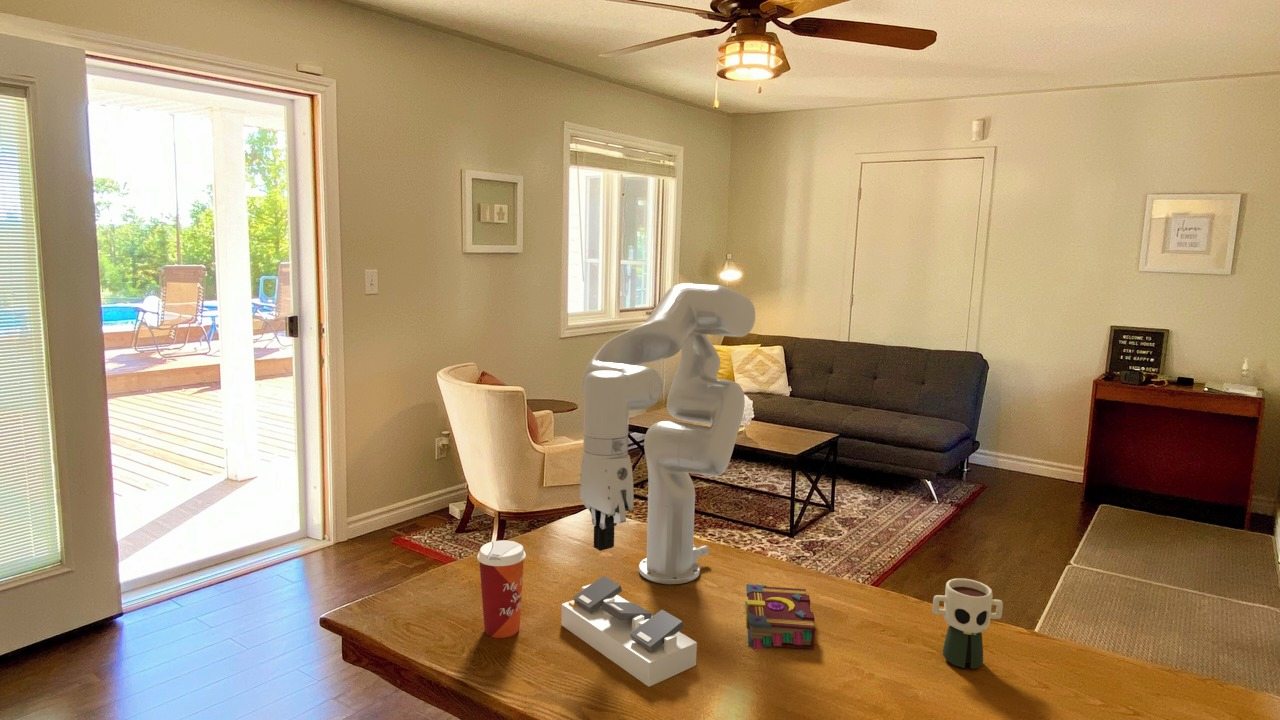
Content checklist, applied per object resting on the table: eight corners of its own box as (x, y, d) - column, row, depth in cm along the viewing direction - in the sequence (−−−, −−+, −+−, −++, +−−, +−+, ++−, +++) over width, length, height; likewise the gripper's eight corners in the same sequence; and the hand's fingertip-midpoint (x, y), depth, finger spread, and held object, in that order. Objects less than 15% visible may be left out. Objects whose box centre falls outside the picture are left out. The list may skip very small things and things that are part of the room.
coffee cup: (516, 644, 131) (515, 560, 129) (470, 638, 133) (469, 555, 131) (532, 620, 139) (532, 541, 137) (489, 615, 141) (488, 536, 139)
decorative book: (805, 610, 146) (807, 585, 145) (816, 656, 130) (817, 628, 130) (744, 606, 147) (745, 581, 147) (747, 650, 131) (748, 623, 131)
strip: (596, 602, 147) (597, 571, 146) (696, 665, 126) (697, 629, 125) (552, 618, 140) (552, 586, 139) (648, 686, 120) (649, 649, 119)
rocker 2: (663, 616, 129) (661, 608, 129) (684, 628, 125) (682, 621, 125) (631, 641, 125) (629, 633, 125) (652, 654, 121) (650, 646, 121)
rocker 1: (605, 582, 141) (603, 574, 141) (622, 592, 137) (620, 585, 137) (574, 603, 138) (572, 596, 137) (592, 615, 134) (589, 607, 133)
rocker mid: (631, 610, 135) (633, 601, 136) (650, 622, 132) (652, 613, 132) (600, 610, 131) (602, 600, 131) (619, 622, 127) (622, 612, 127)
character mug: (933, 669, 126) (939, 594, 124) (923, 647, 133) (929, 575, 131) (1003, 676, 125) (1011, 600, 123) (990, 652, 132) (997, 580, 130)
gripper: (650, 451, 128) (647, 557, 131) (598, 432, 140) (596, 529, 142) (614, 458, 123) (611, 567, 126) (562, 437, 135) (561, 538, 138)
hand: (603, 547), depth 134 cm, fingers closed
